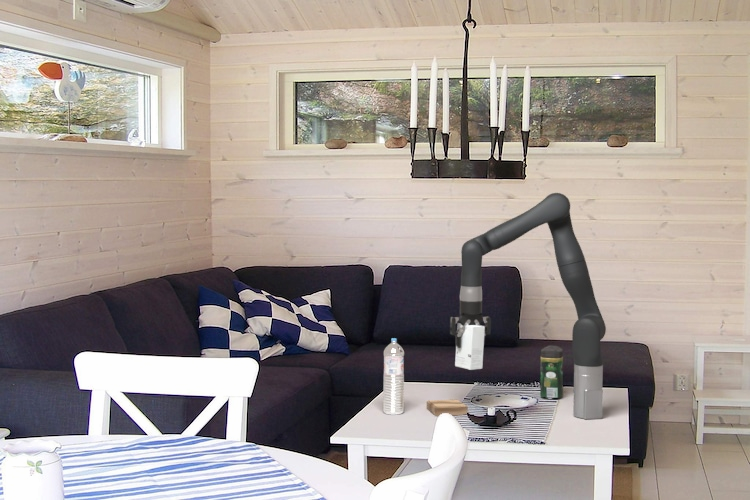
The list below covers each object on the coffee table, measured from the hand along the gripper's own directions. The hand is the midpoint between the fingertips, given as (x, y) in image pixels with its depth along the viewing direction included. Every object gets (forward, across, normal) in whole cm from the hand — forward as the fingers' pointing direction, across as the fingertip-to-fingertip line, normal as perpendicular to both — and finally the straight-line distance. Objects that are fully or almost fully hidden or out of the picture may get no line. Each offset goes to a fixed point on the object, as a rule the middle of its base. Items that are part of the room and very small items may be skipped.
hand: (470, 347), depth 318 cm
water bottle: (+22, -26, -1) cm, 34 cm away
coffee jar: (+21, +35, +13) cm, 43 cm away
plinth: (+21, -8, -2) cm, 23 cm away
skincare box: (+7, 0, 0) cm, 7 cm away
